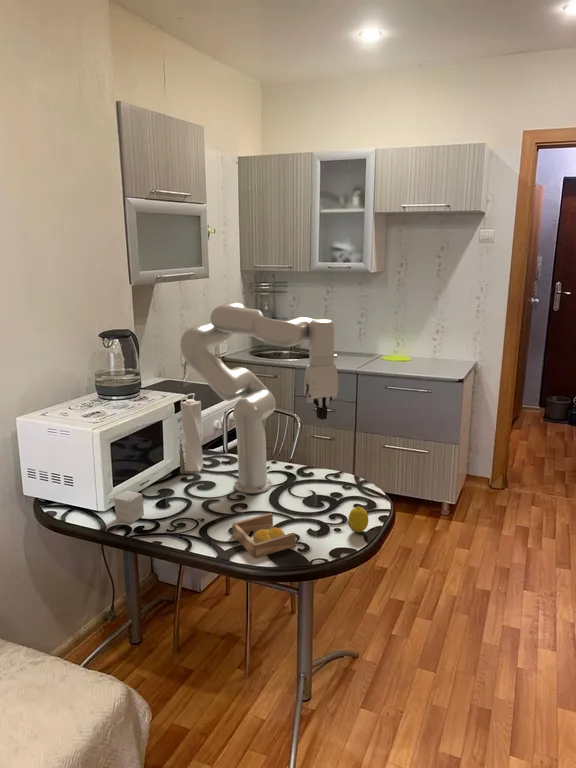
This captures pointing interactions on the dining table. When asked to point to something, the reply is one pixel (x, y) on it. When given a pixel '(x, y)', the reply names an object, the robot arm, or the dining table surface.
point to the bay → (265, 546)
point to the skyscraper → (191, 436)
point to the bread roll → (267, 534)
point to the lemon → (358, 519)
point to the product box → (129, 506)
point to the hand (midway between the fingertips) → (321, 418)
